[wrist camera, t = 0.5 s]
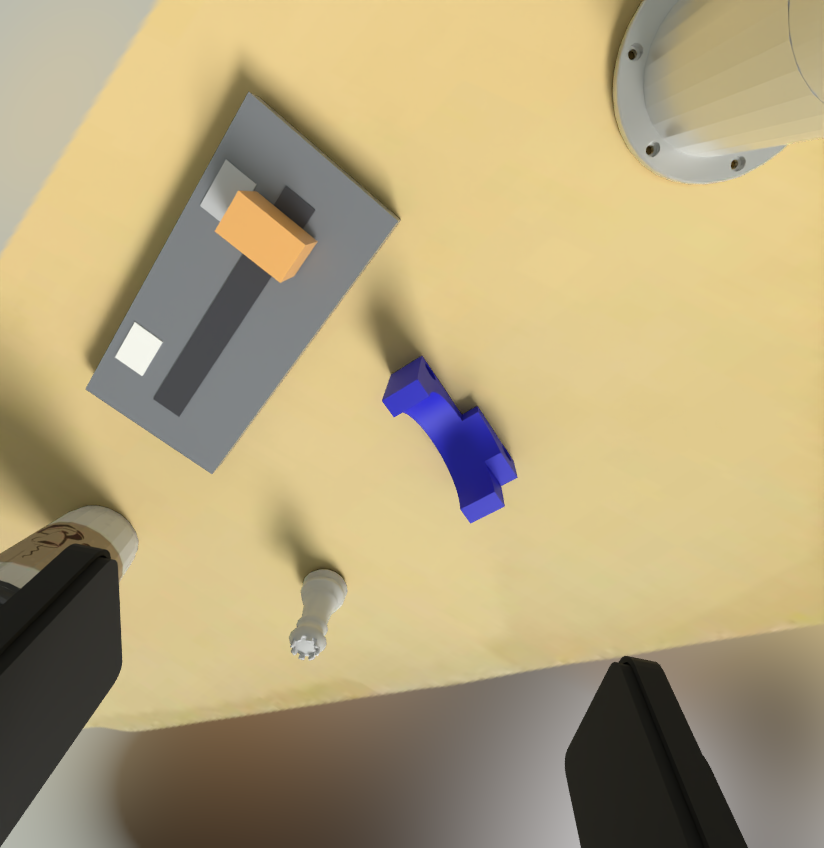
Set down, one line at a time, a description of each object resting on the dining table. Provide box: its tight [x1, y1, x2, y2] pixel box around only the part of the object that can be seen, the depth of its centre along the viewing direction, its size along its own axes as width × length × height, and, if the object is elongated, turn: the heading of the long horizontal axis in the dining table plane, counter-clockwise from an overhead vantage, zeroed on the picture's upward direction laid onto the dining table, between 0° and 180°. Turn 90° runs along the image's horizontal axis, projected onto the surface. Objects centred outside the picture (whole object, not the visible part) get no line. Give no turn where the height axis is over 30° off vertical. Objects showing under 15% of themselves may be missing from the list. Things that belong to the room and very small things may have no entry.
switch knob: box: [215, 190, 318, 283], centre depth 33 cm, size 3×5×3 cm, turn 51°
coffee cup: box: [0, 506, 138, 607], centre depth 43 cm, size 11×11×15 cm
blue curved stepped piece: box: [382, 356, 518, 523], centre depth 39 cm, size 12×4×6 cm, turn 34°
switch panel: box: [86, 92, 400, 474], centre depth 38 cm, size 26×12×2 cm, turn 141°
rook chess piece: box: [289, 569, 347, 660], centre depth 46 cm, size 4×4×8 cm
